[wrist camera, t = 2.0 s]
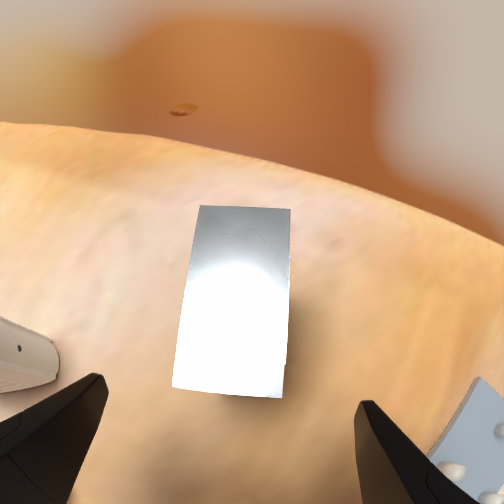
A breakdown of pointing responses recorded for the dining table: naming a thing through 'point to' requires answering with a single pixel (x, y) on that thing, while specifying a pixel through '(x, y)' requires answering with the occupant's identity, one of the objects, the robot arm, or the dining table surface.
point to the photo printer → (25, 358)
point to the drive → (236, 303)
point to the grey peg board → (474, 445)
